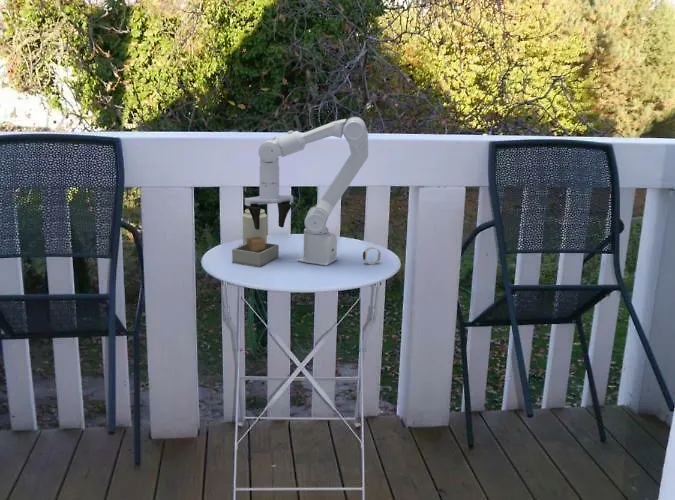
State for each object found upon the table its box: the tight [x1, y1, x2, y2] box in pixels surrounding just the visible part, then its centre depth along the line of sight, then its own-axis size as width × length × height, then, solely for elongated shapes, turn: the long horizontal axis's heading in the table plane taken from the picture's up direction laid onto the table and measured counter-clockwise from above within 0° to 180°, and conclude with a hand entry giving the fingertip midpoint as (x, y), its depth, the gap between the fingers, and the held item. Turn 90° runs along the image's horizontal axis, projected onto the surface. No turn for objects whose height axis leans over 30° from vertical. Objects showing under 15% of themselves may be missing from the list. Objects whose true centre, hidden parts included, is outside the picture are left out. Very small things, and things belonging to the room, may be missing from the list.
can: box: [242, 208, 268, 245], centre depth 227 cm, size 8×8×12 cm
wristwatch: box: [362, 246, 381, 265], centre depth 214 cm, size 3×5×5 cm, turn 104°
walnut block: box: [247, 236, 265, 253], centre depth 214 cm, size 4×4×6 cm
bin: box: [231, 242, 280, 268], centre depth 215 cm, size 9×11×4 cm
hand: (269, 227), depth 215 cm, fingers open, 7 cm apart
